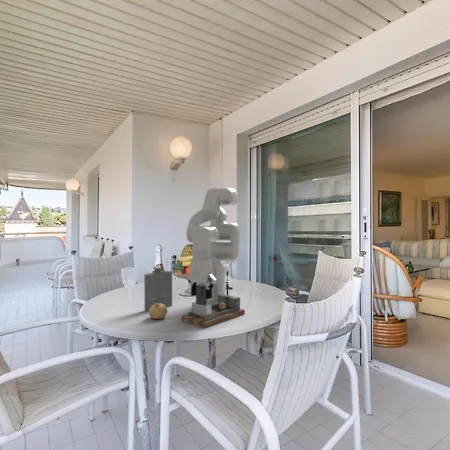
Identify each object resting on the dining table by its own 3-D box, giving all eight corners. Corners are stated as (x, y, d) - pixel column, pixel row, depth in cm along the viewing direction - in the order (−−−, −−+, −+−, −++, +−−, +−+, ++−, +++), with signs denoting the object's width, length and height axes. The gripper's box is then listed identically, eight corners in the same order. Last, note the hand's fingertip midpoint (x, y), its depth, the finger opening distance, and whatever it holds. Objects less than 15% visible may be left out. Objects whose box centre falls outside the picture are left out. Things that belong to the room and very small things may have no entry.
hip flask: (147, 312, 150) (147, 269, 150) (142, 310, 153) (141, 269, 153) (173, 305, 162) (173, 266, 162) (168, 304, 165) (168, 265, 165)
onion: (147, 316, 143) (147, 301, 143) (164, 314, 147) (164, 299, 147) (150, 321, 136) (150, 305, 136) (169, 319, 139) (169, 303, 139)
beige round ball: (216, 310, 146) (216, 302, 146) (222, 308, 149) (222, 301, 149) (222, 311, 144) (222, 303, 144) (228, 310, 147) (228, 302, 147)
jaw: (191, 313, 138) (191, 284, 138) (196, 311, 140) (196, 283, 140) (206, 317, 132) (206, 286, 132) (211, 315, 135) (211, 285, 135)
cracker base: (181, 320, 137) (181, 303, 137) (221, 308, 157) (221, 293, 157) (204, 328, 128) (204, 309, 128) (244, 313, 148) (244, 297, 148)
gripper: (181, 255, 139) (181, 295, 139) (210, 258, 128) (210, 301, 128) (193, 253, 145) (193, 292, 145) (222, 256, 133) (222, 298, 133)
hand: (201, 296), depth 136 cm, fingers open, 8 cm apart
